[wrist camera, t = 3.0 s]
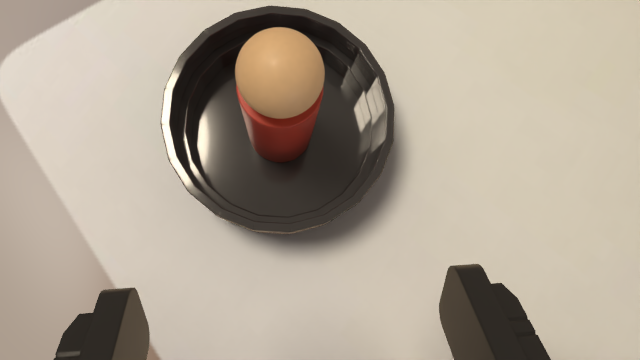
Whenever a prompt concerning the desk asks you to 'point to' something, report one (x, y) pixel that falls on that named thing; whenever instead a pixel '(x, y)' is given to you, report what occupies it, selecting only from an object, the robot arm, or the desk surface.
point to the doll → (279, 91)
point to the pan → (234, 143)
